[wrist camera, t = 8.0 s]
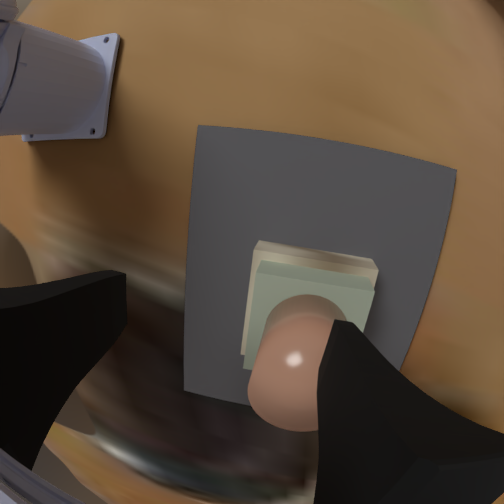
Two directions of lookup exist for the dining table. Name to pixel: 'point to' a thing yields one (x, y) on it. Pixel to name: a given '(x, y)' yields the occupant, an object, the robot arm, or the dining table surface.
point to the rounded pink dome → (292, 361)
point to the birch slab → (305, 259)
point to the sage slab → (299, 283)
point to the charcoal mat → (303, 236)
